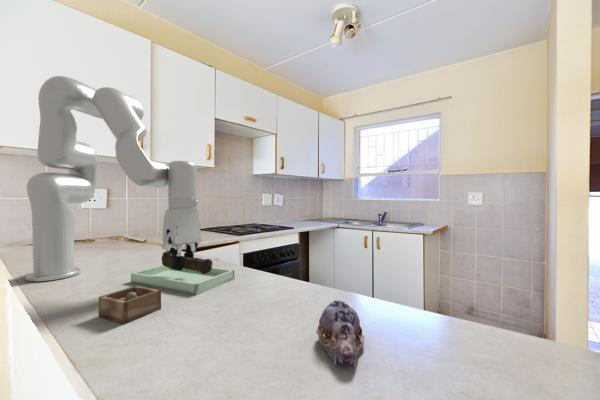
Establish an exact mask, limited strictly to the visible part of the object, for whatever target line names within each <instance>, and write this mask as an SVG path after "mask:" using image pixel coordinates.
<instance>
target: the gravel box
mask: <svg viewBox="0 0 600 400" xmlns="http://www.w3.org/2000/svg"><path fill="white" fill-rule="evenodd" d="M159 310H162V290H160V289H156V288H151V287H148V286H147V287H146V286H140V285H134V286H130V287H127V288H123V289H120V290H117V291H114V292H110V293H107V294H104V295H100V296H98V318H102V319H105V320H108V321H113V322H115V323H119V324H122V325H126V324H128V323H130V322H131V323H132V322H133V321H136V320H138V319H140V318H143V317H146V316H148V315H149V314H152V313H154V312H157V311H159Z"/></svg>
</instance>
